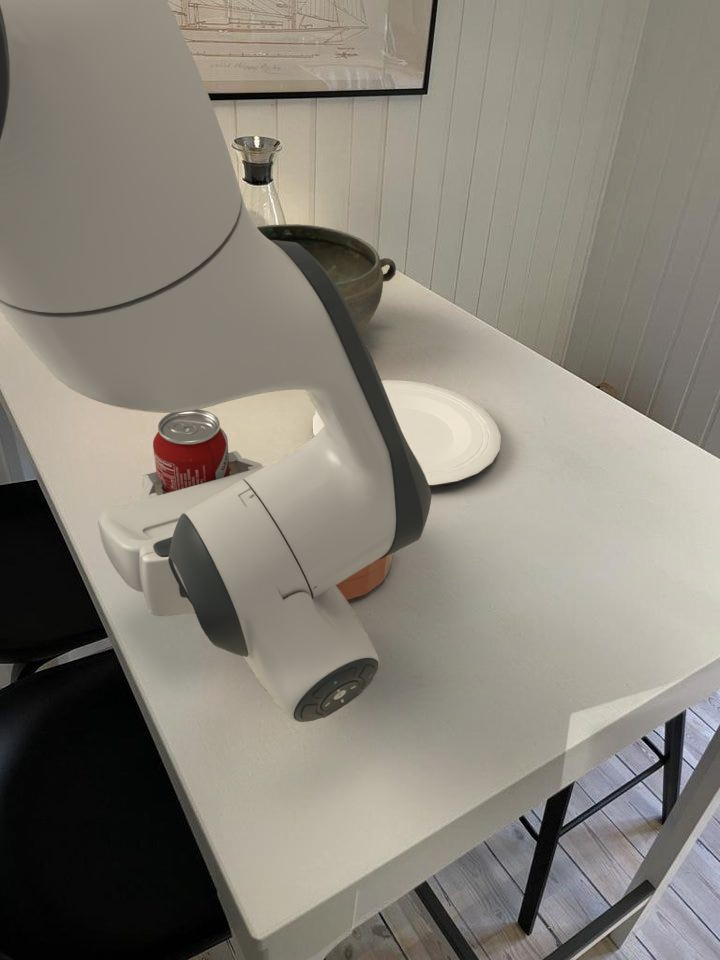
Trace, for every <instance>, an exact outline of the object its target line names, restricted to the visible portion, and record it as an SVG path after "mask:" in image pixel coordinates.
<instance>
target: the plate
mask: <svg viewBox="0 0 720 960" xmlns="http://www.w3.org/2000/svg"><path fill="white" fill-rule="evenodd" d="M381 381H382V384H383V386H384V389H385V391H386V394H387V396H388V399H389V401H390V404H391V406H392V409H393V411H394V414H395V416H396V419H397V421H398V424H399V426H400V428H401V431H402V433H403V435H404V437H405V439H406V441H407V443H408V445H409V447H410V449H411V450H412V452H413V453H414V455H415V456H416V458H417V460H418V461H419V463H420V465H421V467H422V469H423V471H424V474H425V477H426V480H427V482H428V484H429V487H435V486H436V487H437V486H442V485H448V484H454V483H458V482H461V481H464V480H466V479H469V478H472V477H474V476H477V475H479V474H480V473H482V472H483V471H484V470H485V469H486V468H488V467H489V466H491V465H492V464H493V463H494V461H495V459H496V458H497V456H498V455H499V452H500V451H501V440H502V439H501V438H502V436H501V432H500V430H499V428H498V425H497V422H496V421H495V420H494V419H493V418H492V416H491V415H489V413H488V412H487V411H486V410H485V409H484V408H483V407H481V406H480V405H478V404H476V403H475V401H472V400H471V399H470V398H468V397H467V396H464V395H462V394H460V393H457V392H455V391H453V390H451V389H448V388H444V387H441V386H437V385H434V384H430V383H426V382H419V381H411V380H394V379H390V380H389V379H388V380H387V379H383V380H381ZM323 426H324V423H323V422H322V420H321V418H320V416H319V414H318V412H317V411H316V410H315V413H314V415H313V417H312V435H313V437H314V436H315V435H316V434H317V433H318V432H319V431H320V430H321V429H322V427H323Z"/></svg>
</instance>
